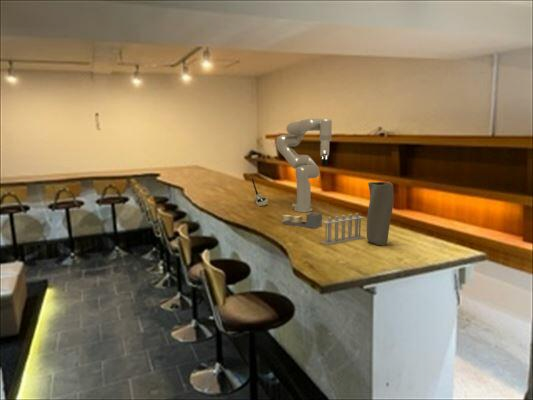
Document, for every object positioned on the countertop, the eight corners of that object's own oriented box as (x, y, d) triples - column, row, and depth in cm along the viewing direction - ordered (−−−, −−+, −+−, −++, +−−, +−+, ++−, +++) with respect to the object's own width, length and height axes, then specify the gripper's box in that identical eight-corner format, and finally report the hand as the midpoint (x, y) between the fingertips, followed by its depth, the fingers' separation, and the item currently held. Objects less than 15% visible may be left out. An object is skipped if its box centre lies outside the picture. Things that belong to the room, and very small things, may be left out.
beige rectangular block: (282, 223, 248) (282, 215, 247) (285, 222, 251) (285, 214, 250) (299, 226, 242) (299, 217, 241) (302, 224, 245) (302, 216, 244)
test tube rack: (326, 245, 201) (326, 218, 199) (320, 243, 205) (321, 217, 203) (364, 238, 214) (365, 213, 212) (358, 236, 218) (359, 211, 215)
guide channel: (282, 224, 246) (282, 221, 246) (287, 221, 252) (287, 219, 251) (307, 227, 238) (307, 224, 237) (311, 225, 243) (311, 222, 243)
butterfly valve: (270, 205, 304) (264, 199, 320) (263, 180, 298) (256, 176, 314) (260, 209, 303) (254, 203, 319) (252, 185, 296) (246, 180, 312)
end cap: (306, 227, 237) (306, 214, 236) (312, 224, 244) (312, 212, 242) (315, 228, 234) (315, 216, 233) (321, 226, 240) (321, 213, 239)
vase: (384, 239, 211) (386, 181, 206) (395, 245, 199) (398, 184, 194) (361, 240, 209) (363, 182, 204) (371, 247, 197) (374, 185, 192)
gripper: (320, 138, 270) (320, 164, 273) (318, 139, 253) (317, 166, 256) (332, 138, 268) (331, 164, 271) (330, 139, 252) (330, 166, 255)
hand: (325, 165), depth 264 cm, fingers open, 9 cm apart
